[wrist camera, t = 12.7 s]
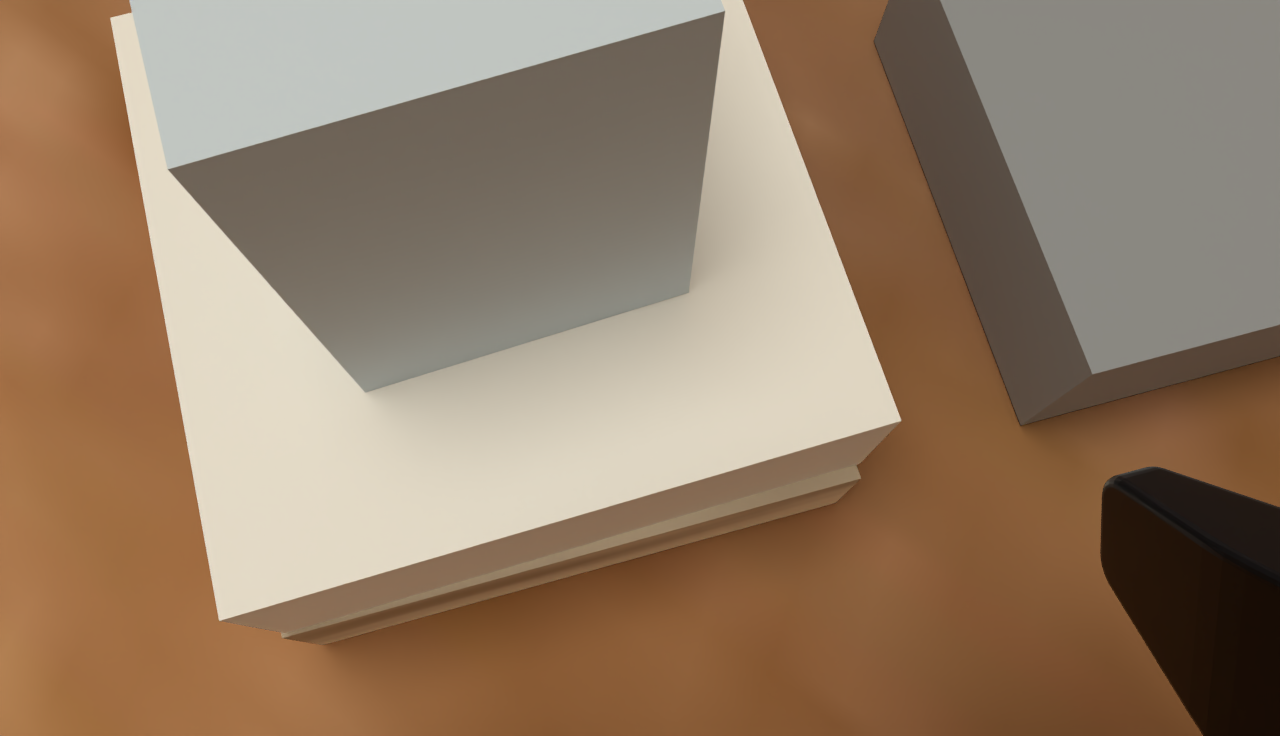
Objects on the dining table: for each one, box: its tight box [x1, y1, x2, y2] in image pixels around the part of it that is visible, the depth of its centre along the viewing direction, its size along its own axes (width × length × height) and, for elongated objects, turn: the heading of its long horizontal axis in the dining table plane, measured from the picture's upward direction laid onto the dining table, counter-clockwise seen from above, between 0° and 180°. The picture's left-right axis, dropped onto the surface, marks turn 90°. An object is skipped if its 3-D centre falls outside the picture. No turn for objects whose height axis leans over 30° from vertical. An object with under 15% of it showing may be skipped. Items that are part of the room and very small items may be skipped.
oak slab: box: [281, 465, 861, 645], centre depth 21 cm, size 10×10×3 cm
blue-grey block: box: [130, 0, 725, 393], centre depth 13 cm, size 5×5×7 cm
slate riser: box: [874, 0, 1280, 425], centre depth 21 cm, size 9×9×4 cm
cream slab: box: [111, 0, 901, 633], centre depth 18 cm, size 10×10×3 cm
